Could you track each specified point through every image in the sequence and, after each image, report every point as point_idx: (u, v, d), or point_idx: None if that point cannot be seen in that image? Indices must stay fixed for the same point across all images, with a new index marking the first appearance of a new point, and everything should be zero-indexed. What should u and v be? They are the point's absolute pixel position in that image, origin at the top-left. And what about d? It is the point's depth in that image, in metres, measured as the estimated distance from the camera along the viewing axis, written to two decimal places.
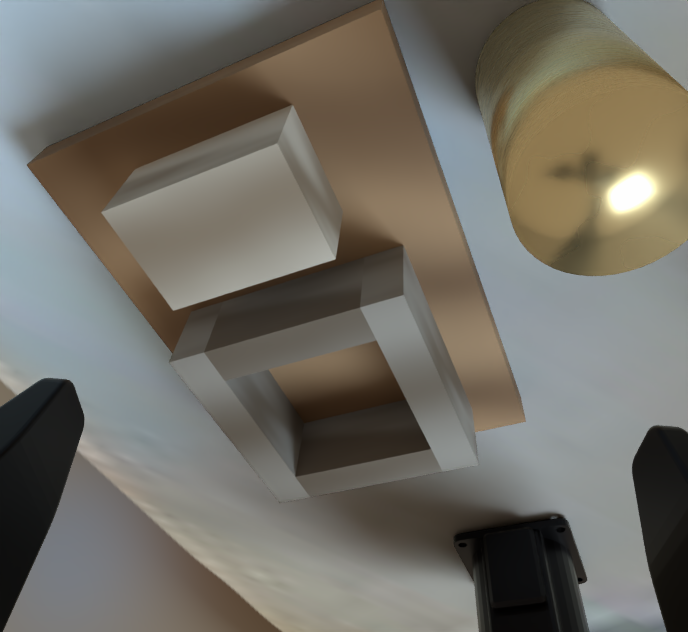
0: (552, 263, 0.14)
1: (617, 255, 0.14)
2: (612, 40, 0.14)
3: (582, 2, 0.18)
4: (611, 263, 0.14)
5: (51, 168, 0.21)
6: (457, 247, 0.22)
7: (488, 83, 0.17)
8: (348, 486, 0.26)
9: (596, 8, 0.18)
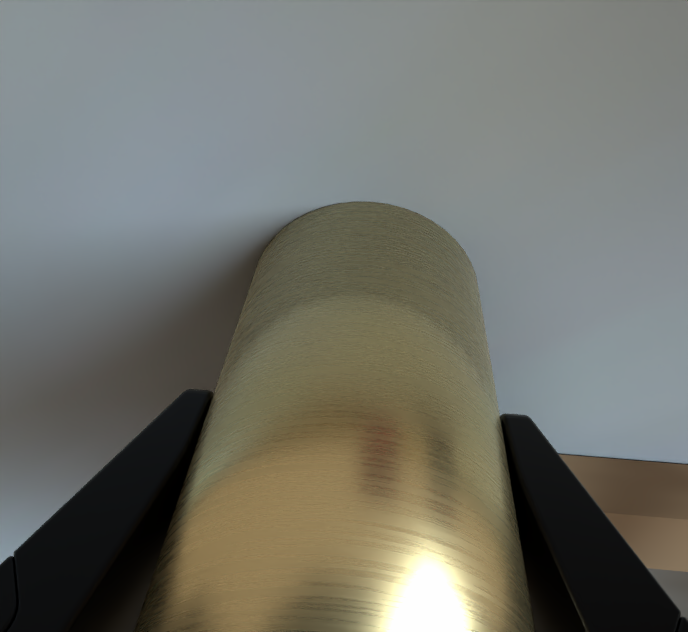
0: None
1: None
2: (199, 445, 0.08)
3: (269, 248, 0.11)
4: None
5: None
6: None
7: None
8: None
9: (292, 224, 0.11)
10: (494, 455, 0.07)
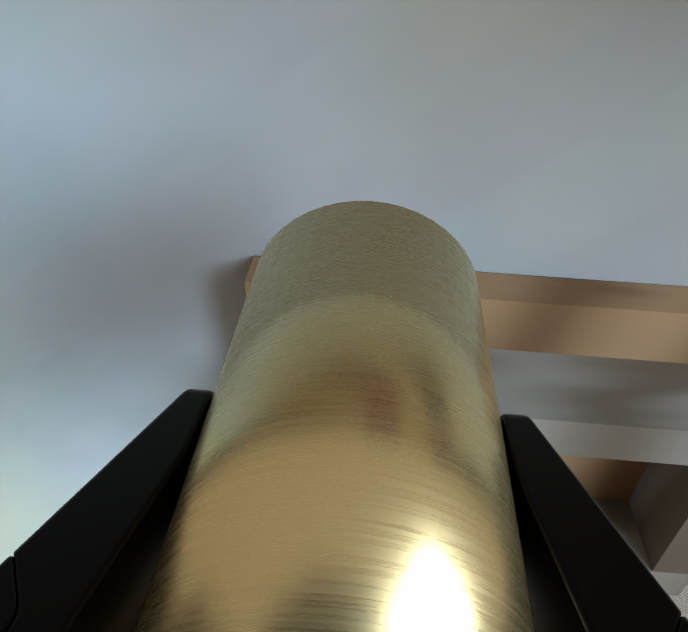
0: None
1: None
2: (200, 443, 0.08)
3: (269, 247, 0.11)
4: None
5: None
6: (506, 306, 0.19)
7: None
8: None
9: (292, 223, 0.11)
10: (494, 453, 0.07)
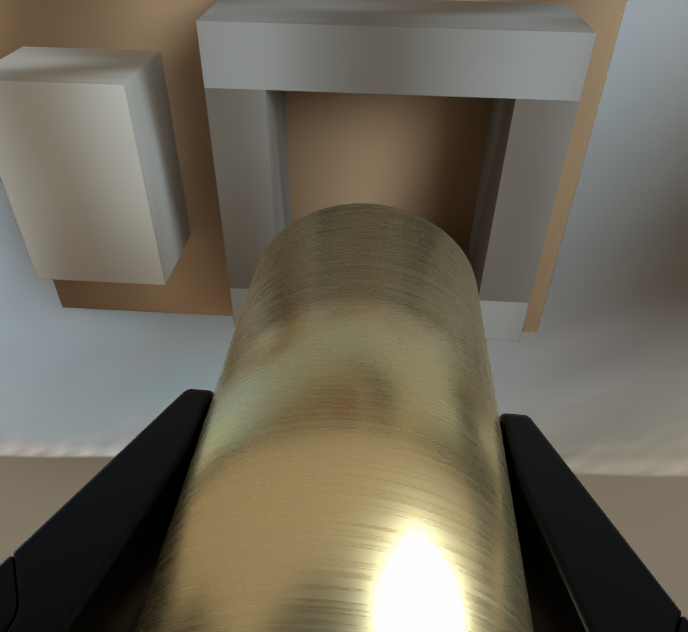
0: None
1: None
2: (199, 447, 0.08)
3: (269, 250, 0.11)
4: None
5: (68, 291, 0.23)
6: None
7: None
8: (534, 248, 0.17)
9: (292, 225, 0.11)
10: (493, 457, 0.07)
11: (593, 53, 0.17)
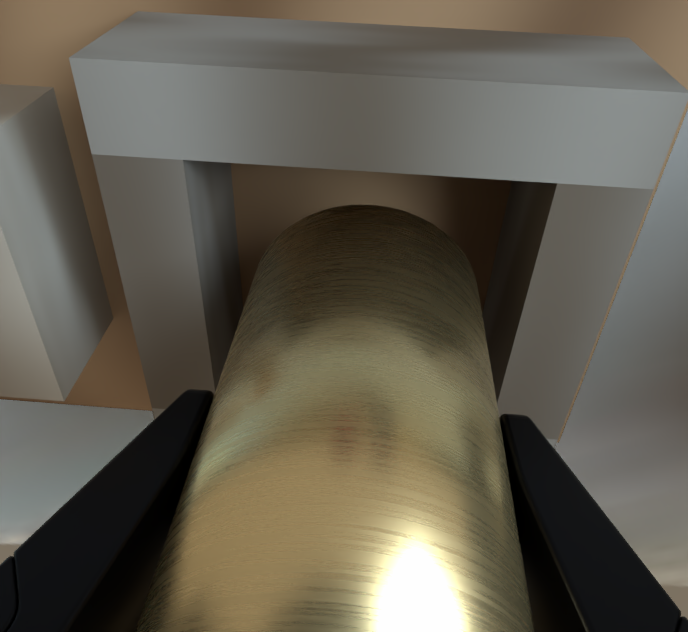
0: None
1: None
2: (199, 448, 0.08)
3: (269, 251, 0.11)
4: None
5: None
6: None
7: None
8: (570, 376, 0.12)
9: (292, 226, 0.11)
10: (494, 459, 0.07)
11: None
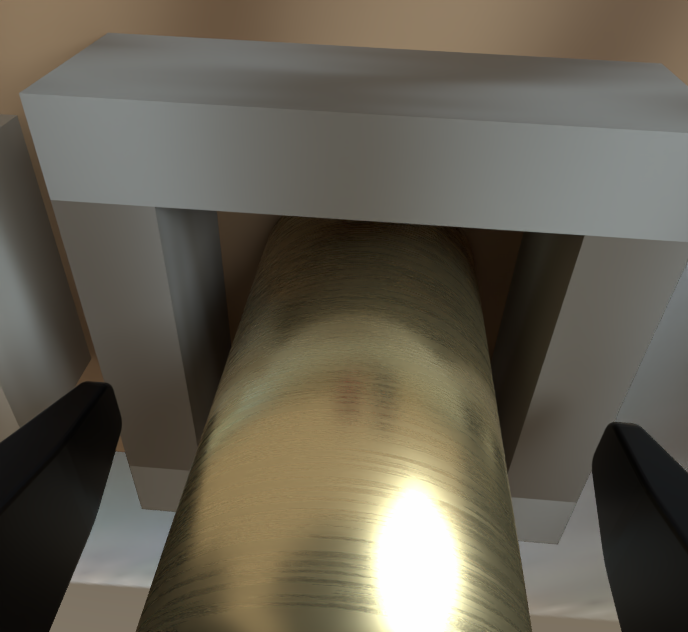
0: None
1: None
2: (217, 396, 0.08)
3: (278, 224, 0.12)
4: None
5: None
6: None
7: None
8: (593, 438, 0.11)
9: None
10: (485, 405, 0.08)
11: None
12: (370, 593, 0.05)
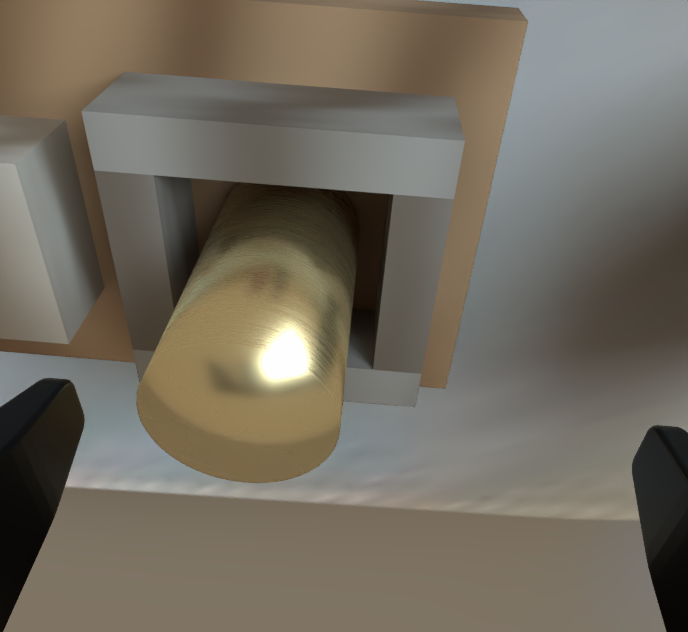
0: (302, 471, 0.14)
1: (315, 432, 0.13)
2: (187, 282, 0.15)
3: (230, 192, 0.18)
4: (322, 438, 0.13)
5: None
6: (143, 2, 0.16)
7: None
8: (423, 326, 0.18)
9: None
10: (335, 286, 0.15)
11: (482, 142, 0.17)
12: (248, 339, 0.12)
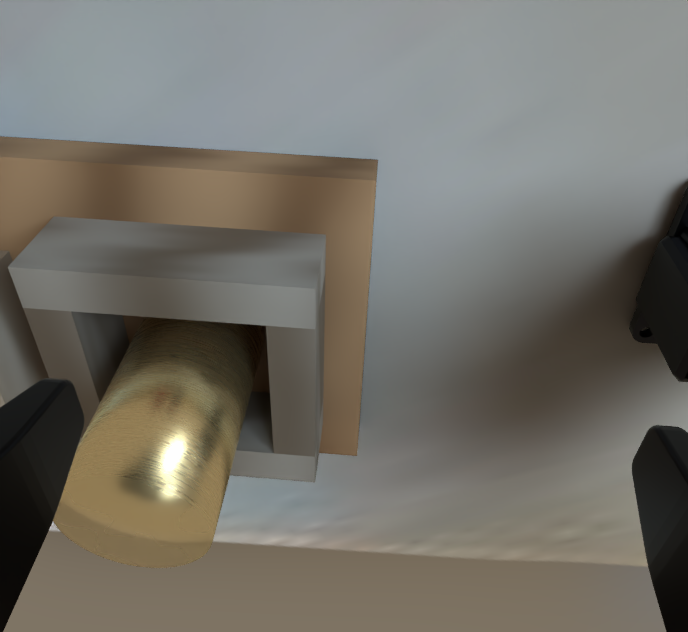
0: (191, 559, 0.17)
1: (193, 533, 0.17)
2: (100, 403, 0.18)
3: None
4: (200, 538, 0.17)
5: None
6: (63, 167, 0.19)
7: None
8: (308, 420, 0.21)
9: None
10: (218, 404, 0.18)
11: (354, 267, 0.20)
12: (127, 471, 0.15)
